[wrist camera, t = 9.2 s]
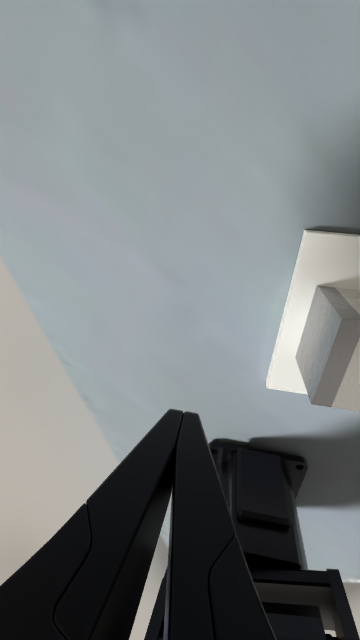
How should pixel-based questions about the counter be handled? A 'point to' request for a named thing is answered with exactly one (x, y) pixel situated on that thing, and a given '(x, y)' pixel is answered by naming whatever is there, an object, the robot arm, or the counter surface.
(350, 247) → the long white tray
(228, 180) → the counter surface
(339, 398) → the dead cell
